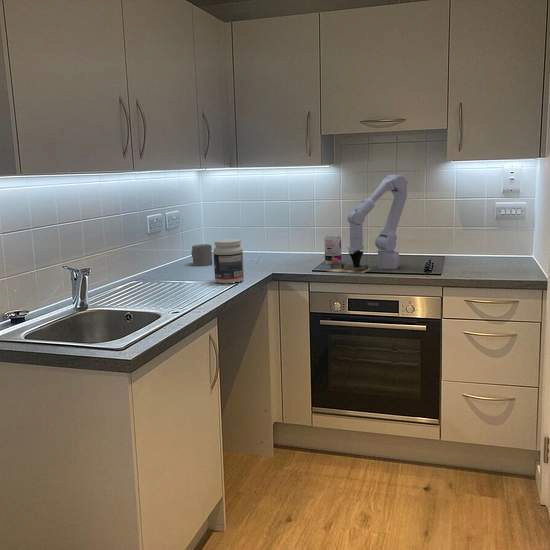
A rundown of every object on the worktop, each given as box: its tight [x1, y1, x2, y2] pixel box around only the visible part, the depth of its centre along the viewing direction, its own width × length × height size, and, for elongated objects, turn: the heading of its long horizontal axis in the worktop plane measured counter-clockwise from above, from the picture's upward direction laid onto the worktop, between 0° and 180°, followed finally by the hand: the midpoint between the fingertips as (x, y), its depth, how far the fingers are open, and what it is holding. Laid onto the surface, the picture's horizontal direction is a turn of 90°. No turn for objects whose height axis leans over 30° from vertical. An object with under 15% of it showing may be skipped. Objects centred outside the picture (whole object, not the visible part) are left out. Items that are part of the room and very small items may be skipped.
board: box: [326, 267, 372, 274], centre depth 287 cm, size 18×12×1 cm, turn 63°
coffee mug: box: [191, 243, 213, 267], centre depth 323 cm, size 13×10×10 cm
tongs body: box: [330, 263, 369, 270], centre depth 288 cm, size 17×4×2 cm, turn 63°
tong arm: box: [338, 262, 366, 270], centre depth 287 cm, size 14×3×3 cm, turn 61°
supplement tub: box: [212, 238, 245, 284], centre depth 272 cm, size 13×13×18 cm
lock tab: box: [332, 258, 338, 263], centre depth 291 cm, size 2×2×2 cm
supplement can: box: [324, 234, 343, 266], centre depth 305 cm, size 8×8×15 cm
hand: (356, 267), depth 284 cm, fingers closed
